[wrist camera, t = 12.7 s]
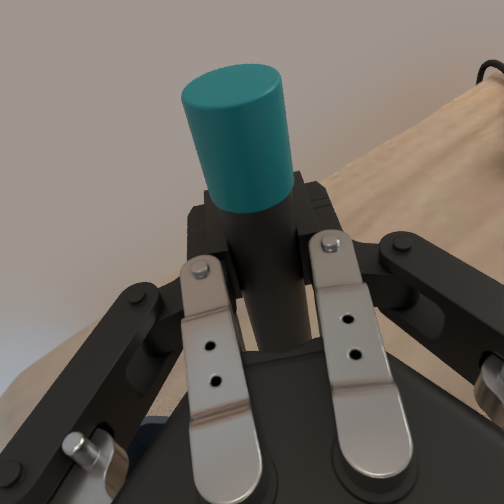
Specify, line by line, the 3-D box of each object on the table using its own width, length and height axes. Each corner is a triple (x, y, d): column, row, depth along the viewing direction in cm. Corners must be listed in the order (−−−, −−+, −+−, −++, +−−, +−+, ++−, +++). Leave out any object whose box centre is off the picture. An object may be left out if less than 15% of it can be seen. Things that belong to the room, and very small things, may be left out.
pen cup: (164, 436, 32) (136, 399, 28) (242, 479, 29) (223, 444, 25) (102, 532, 28) (59, 505, 24) (185, 593, 25) (151, 575, 21)
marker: (287, 380, 22) (214, 61, 11) (330, 397, 21) (297, 63, 10) (266, 421, 21) (160, 103, 10) (311, 442, 20) (249, 110, 9)
